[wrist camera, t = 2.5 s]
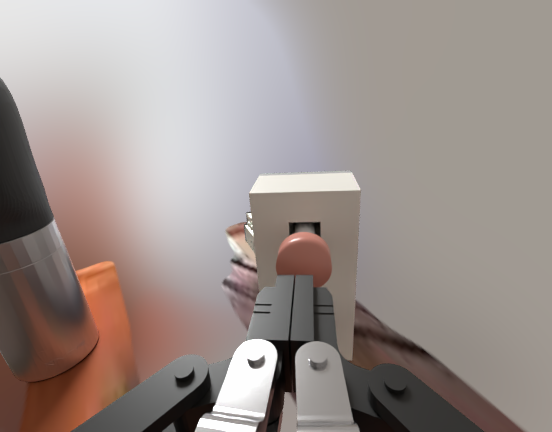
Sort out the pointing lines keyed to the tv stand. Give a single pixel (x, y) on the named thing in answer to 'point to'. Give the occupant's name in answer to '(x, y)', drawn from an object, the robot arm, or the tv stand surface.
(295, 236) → the knob
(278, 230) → the mount
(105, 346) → the tv stand surface
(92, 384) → the tv stand surface
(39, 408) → the tv stand surface
